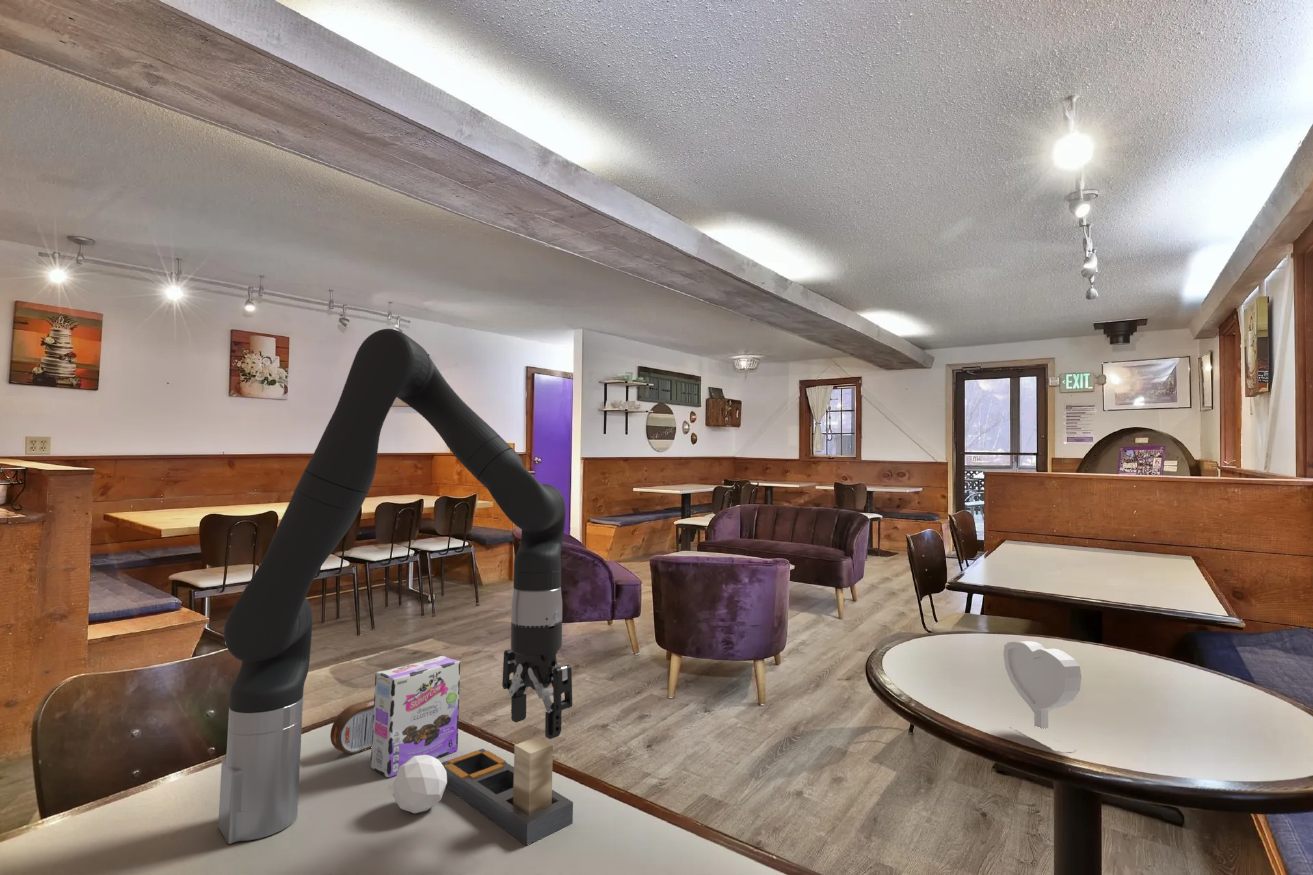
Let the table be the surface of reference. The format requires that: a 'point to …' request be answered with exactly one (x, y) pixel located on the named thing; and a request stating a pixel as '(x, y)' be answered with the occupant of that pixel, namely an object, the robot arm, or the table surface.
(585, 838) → the table surface
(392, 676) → the candy box
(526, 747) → the birch peg
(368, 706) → the tin
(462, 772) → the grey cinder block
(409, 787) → the geometric ball
